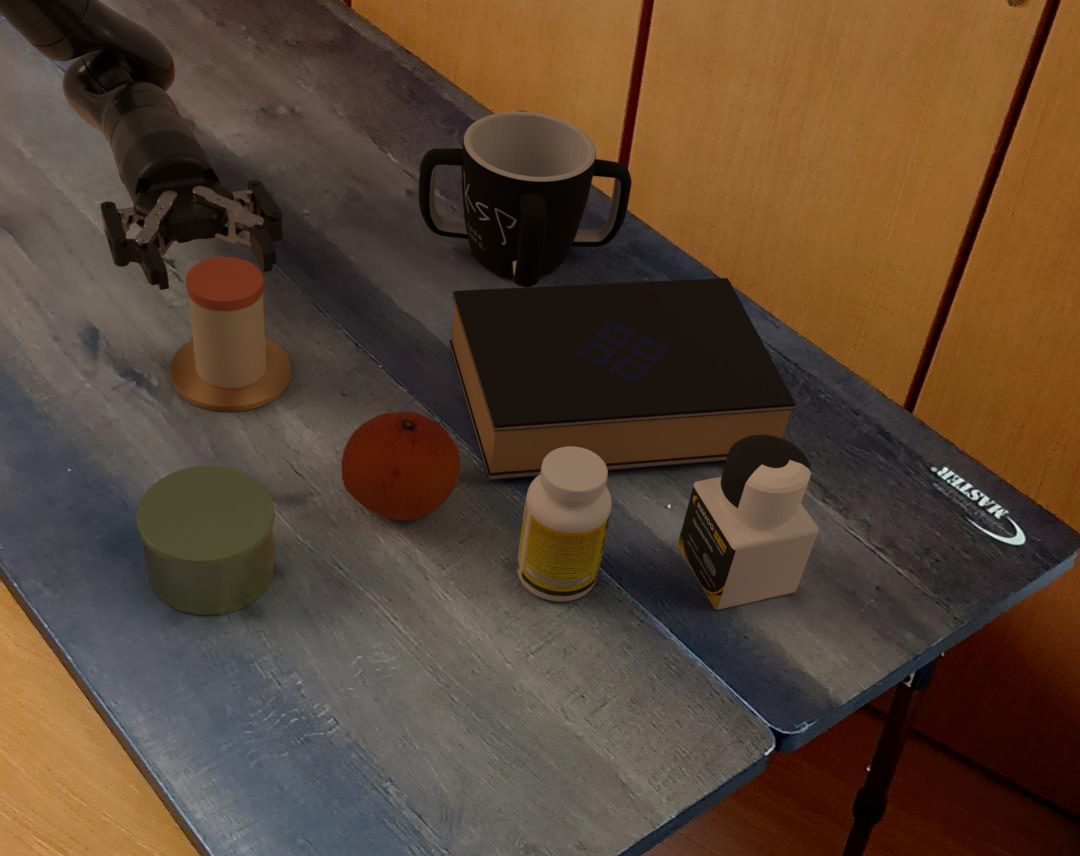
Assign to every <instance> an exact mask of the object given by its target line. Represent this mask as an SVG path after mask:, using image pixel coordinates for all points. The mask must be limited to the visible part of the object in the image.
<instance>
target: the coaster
mask: <svg viewBox="0 0 1080 856" xmlns="http://www.w3.org/2000/svg"><path fill="white" fill-rule="evenodd" d="M265 349H266V371H265V373H264V375H263V376H262V377H261V378H260V379H259V380H258V381H257V382H255V383H253V384H251V385H249V386H246V387H242V388H236V389H225V388H219V387H215V386H212V385H210V384H208V383H206V382H205V381H203V380H202V379H201V378H200V377H199V375H198V373H197V371H196V364H195V354H194V344H193V339H192V340H190V341H188V342H187V343H185V344H184V345H182V347H180V348H179V349H178V350H177V351H176V353H175V354H174V356H173V357H172V359H171V362H170V365H169V377H170V382H171V384H172V386H173V388H174V390H175V391H176V393H177V394H179V396H180V397H181V398H183V399H184V400H185V401H186V402H189V403H191V404H192V405H194V406H197V407H199V408H203V409H206V410H210V411H214V412H226V413H233V412H234V413H235V412H245V411H249V410H254V409H257V408H260V407H263V406H265V405H268V404H269V403H271V402H273V401H274V400H276V399H277V398H279V397H280V396H281V395H282V394H283V393H285V391H286V389H287V388H288V387H289V384H290V382H291V379H292V363H291V360H290V357H289V356H288V353H287V352H286V351H285V350H284V349H283V347H282V346H280V345H279V344H278V343H276V342H274V341H273V340H272V339H270V338H268V337H265Z"/></svg>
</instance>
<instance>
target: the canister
mask: <svg viewBox="0 0 1080 856" xmlns="http://www.w3.org/2000/svg"><path fill="white" fill-rule="evenodd" d="M185 287H186V294H187V295H188V302H189V312H190V322H191V332H192V340H193V344H194V354H195V364H196V371H197V373H198V375H199V377H200V378H201V379H202V380H203V381H205V382H206V383H208V384H210V385H212V386H215V387H219V388H225V389H236V388H242V387H246V386H249V385H251V384H253V383H255V382H257V381H258V380H259V379H260V378H261V377H262V376H263V375H264V373H265V371H266V349H265V338H266V334H265V331H266V330H265V314H264V313H265V311H264V294H263V293H264V290H265V287H264V275H263V273H262V270H261V269H260V268H259V267H258V266H256V264H254V263H252V262H250V261H248V260H246V259H242V258H239V257H233V256H217V257H211V258H207V259H204V260H202V261H199V262H197V263H195V264H194V265H193V266H192V267H190V269H189V270H188V271H187V274H186V276H185Z"/></svg>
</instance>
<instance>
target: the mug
mask: <svg viewBox="0 0 1080 856" xmlns="http://www.w3.org/2000/svg"><path fill="white" fill-rule="evenodd" d="M419 165H420V166H419V177H418V204H419V210H420V214H421V217H422V219H423V221H424V223H425V225H426V226H427V228H428V229H429V230H430V232H432V233H433V234H435V235H438V236H440V237H446V238H455V239H462V240H463V239H464V240H467V241H468V244H469V245H468V246H469V248H470V251H471V253H472V255H473V257H474V258H475V260H476V261H477V262H478V263H479V264H480V265H481V266H482V267H484V268H486V269H487V270H490V271H491V272H492V273H495V274H498V275H501V276H505V277H509V278H512V282H513V283H514V284H515V285H516V286H519V287H521V288H525V287H535V286H536V285H537V284H538V283H539V280H540V277H543V276H547V275H549V274H551V273H553V272H554V271H556V270H557V269H559V267H561V266H562V264H563V263H564V262H565V260H566V258H567V256H568V255H569V253H570V251H571V248H572V247H577V248H579V247H580V248H598V247H603V246H605V245H607V244H609V243H610V242H611V241H612V240H613V239H614V238H615V237H616V236H617V234H618V233H619V231H621V228H622V226H623V224H624V221H625V219H626V216H627V210H628V207H629V201H630V195H631V190H632V189H631V188H632V183H633V182H632V176H631V173H630V170H629V169H628V167H627V166H626V165H625V164H624V163H622V162H619V161H613V160H606V159H601V158H600V159H599V158H597V149H596V146H595V144H594V141H593V140H592V139H591V138H590V136H589V135H588V134H587V133H586V132H585V131H583V130H582V129H581V128H579V127H578V126H576V125H574V124H573V123H571V122H568V121H566V120H564V119H562V118H559V117H556V116H554V115H550V114H546V113H540V112H534V111H528V110H515V111H514V110H513V111H501V112H498V113H492V114H489V115H485V116H484V117H481V118H480V119H478V120H476V121H474V122H473V123H471V125H469V126H468V128H467V129H466V131H465V132H464V134H463V141H462V148H459V147H458V148H456V147H450V148H449V147H445V148H442V147H441V148H432V149H429V150H428V151H426V153H425V155H424V156H423V157H422V159H421V162H420V164H419ZM438 166H454V167H456V166H457V167H458V166H459V167H461V194H462V195H461V196H462V205H463V216H464V220H458V219H450V218H443V217H441V216H440V214H439V213H438V211H437V209H436V202H435V191H436V188H435V186H436V174H437V167H438ZM594 177H600V178H612V179H614V180H615V181H614V192H613V197H612V201H611V206H610V210H609V214H608V217H607V218H606V220H605V222H604V223H603V224H602V226H600V227H598V228H594V229H592V228H591V229H587V228H580V225H581V222H582V220H583V219H582V218H583V215H584V213H585V209H586V207H587V203H588V199H589V194H590V191H591V187H592V183H593V178H594Z"/></svg>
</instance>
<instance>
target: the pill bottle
mask: <svg viewBox="0 0 1080 856" xmlns="http://www.w3.org/2000/svg"><path fill="white" fill-rule="evenodd" d="M608 471H609V470H607V466H606V464H605V463H604V461H603V460H602V459H601V458H600V457H599V456H598V455H597V454H595V453H594V452H592V451H590V450H587V449H584V448H581V447H573V446H568V447H561V448H558V449H555V450H553V451H551V452H550V453H549V454H548V455H546V457H545V458H544V460H543V463H542V467H541V473H540V475H539V476H535V478H534V479H533V480H532V481H531V483H530V484H529V487H528V488H527V492H526V497H525V503H524V510H523V517H522V522H521V523H522V526H521V530H520V538H519V545H518V552H517V561H516V569H517V570H516V571H517V576H518V578H519V580H520V582H521V584H522V585H523V587H524V588H525V589H527V591H529V592H530V593H531V594H532V595H534V596H536V597H538V598H541V599H543V600H547V601H551V602H559V603H560V602H561V603H562V602H570V601H575V600H577V599H580V598H583V597H584V596H586V595H587V594H588V593H589V592H590V591H591V590H592V589H593V587H595V584H596V583H597V579H598V576H599V572H600V568H601V562H602V558H603V553H604V548H605V545H606V539H607V533H608V528H609V524H610V519H611V515H612V506H613V501H612V500H613V499H612V495H611V493H610V490H609V488H608V487H607V482H608V475H609V472H608Z"/></svg>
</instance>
